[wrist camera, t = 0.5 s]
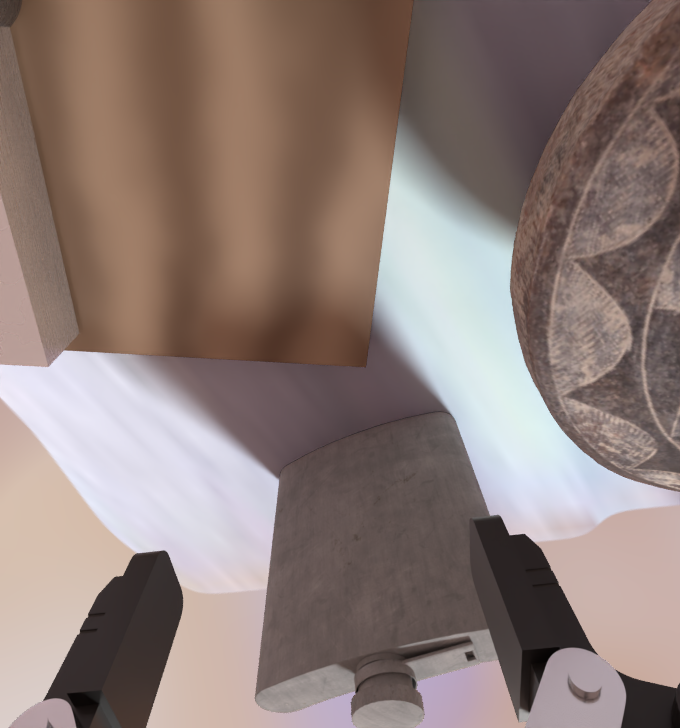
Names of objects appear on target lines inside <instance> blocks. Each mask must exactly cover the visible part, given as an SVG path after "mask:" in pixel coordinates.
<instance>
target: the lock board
mask: <svg viewBox="0 0 680 728" xmlns="http://www.w3.org/2000/svg"><path fill="white" fill-rule="evenodd" d="M413 1H414V0H22V4H21V9H20V12H19V14H18V17H17V18H16V20H15V22H14V23H13V24H12V26H11V27H10V30H11V35H12V39H13V44H14V48H15V52H16V57H17V61H18V66H19V70H20V75H21V79H22V83H23V88H24V92H25V97H26V101H27V105H28V110H29V114H30V119H31V123H32V127H33V132H34V136H35V141H36V145H37V149H38V154H39V158H40V163H41V167H42V171H43V176H44V180H45V185H46V189H47V193H48V198H49V202H50V207H51V211H52V215H53V220H54V224H55V229H56V233H57V237H58V242H59V246H60V251H61V255H62V259H63V264H64V268H65V273H66V277H67V281H68V286H69V290H70V295H71V299H72V303H73V308H74V312H75V317H76V321H77V325H78V330H79V334H78V335H77V337H76V338H75V339H74V340H73V341H72V342H71V343H70V344H69V345H68V346H67V347H66V348H65V350H68V351H86V352H104V353H121V354H139V355H157V356H175V357H192V358H210V359H228V360H246V361H263V362H281V363H299V364H317V365H335V366H352V367H366V363H367V355H368V348H369V340H370V332H371V325H372V317H373V309H374V301H375V294H376V286H377V278H378V271H379V263H380V255H381V247H382V240H383V232H384V224H385V217H386V209H387V201H388V193H389V186H390V178H391V170H392V163H393V155H394V147H395V139H396V132H397V124H398V116H399V109H400V101H401V93H402V85H403V78H404V70H405V62H406V55H407V47H408V39H409V31H410V24H411V16H412V8H413Z"/></svg>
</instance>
